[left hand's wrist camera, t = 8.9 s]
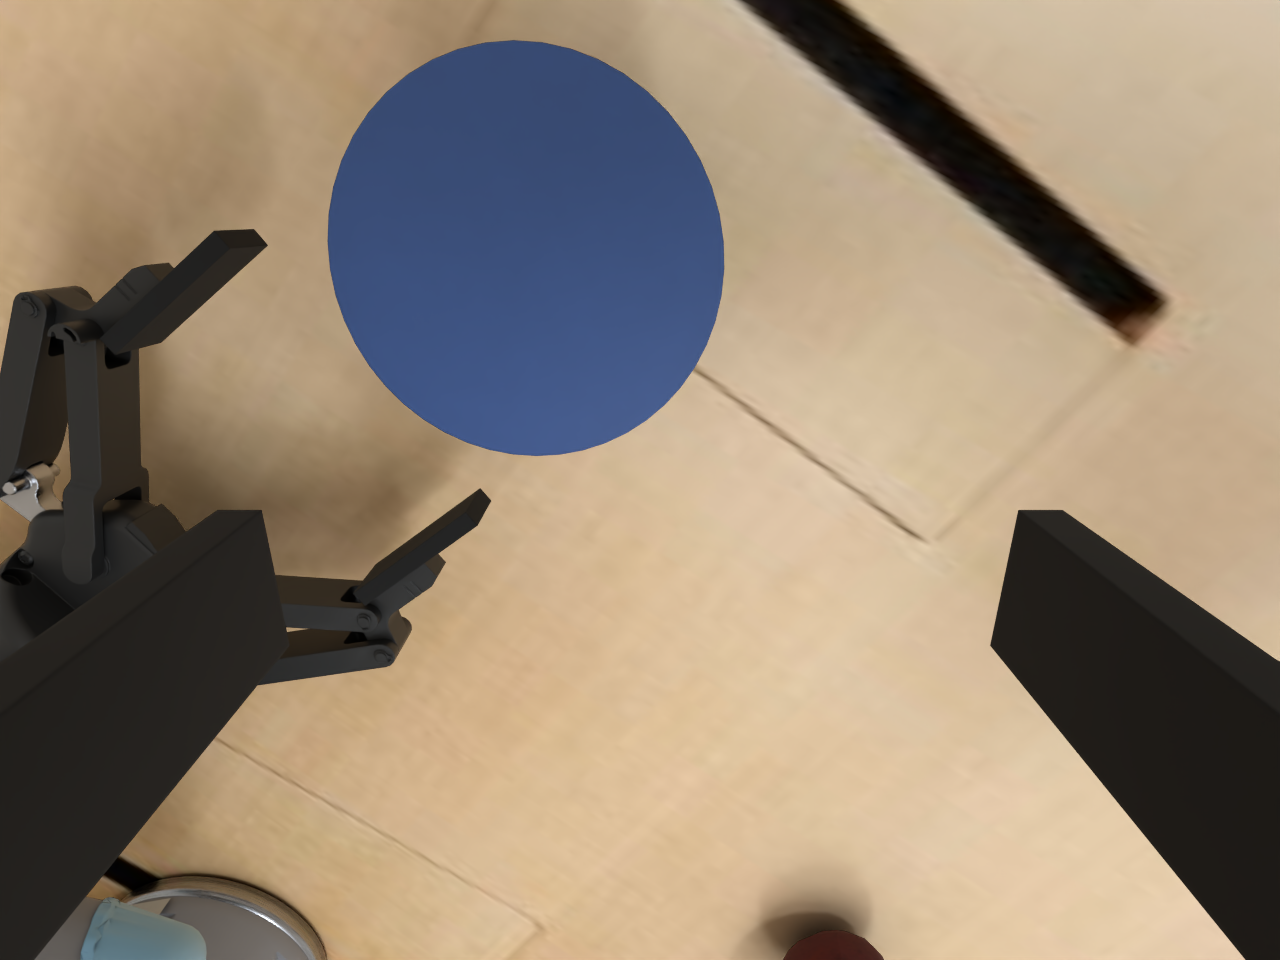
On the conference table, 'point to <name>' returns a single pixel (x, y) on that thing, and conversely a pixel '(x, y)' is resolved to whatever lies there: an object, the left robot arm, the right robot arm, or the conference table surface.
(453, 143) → the lid
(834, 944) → the potato
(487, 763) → the conference table surface
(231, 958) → the right robot arm
